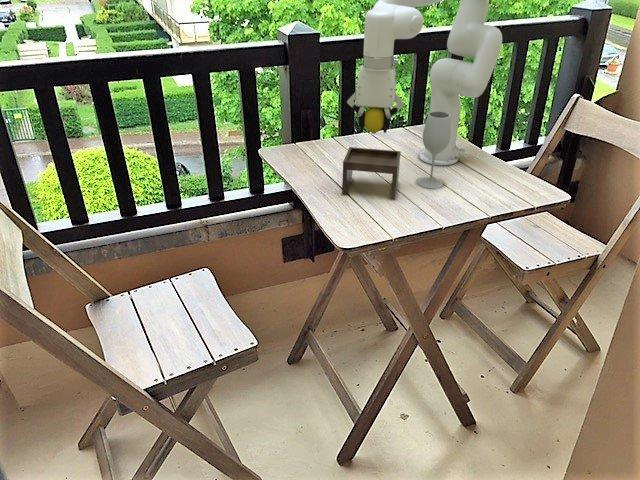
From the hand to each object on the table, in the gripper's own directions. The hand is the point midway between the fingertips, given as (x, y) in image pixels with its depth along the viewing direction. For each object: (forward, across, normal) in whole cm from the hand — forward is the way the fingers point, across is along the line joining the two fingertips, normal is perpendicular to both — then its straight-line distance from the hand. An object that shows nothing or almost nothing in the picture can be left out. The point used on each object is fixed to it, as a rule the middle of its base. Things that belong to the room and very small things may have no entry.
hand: (373, 129), depth 144 cm
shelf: (+18, 0, 0) cm, 18 cm away
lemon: (+2, 0, 0) cm, 2 cm away
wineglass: (+19, -17, -8) cm, 26 cm away
